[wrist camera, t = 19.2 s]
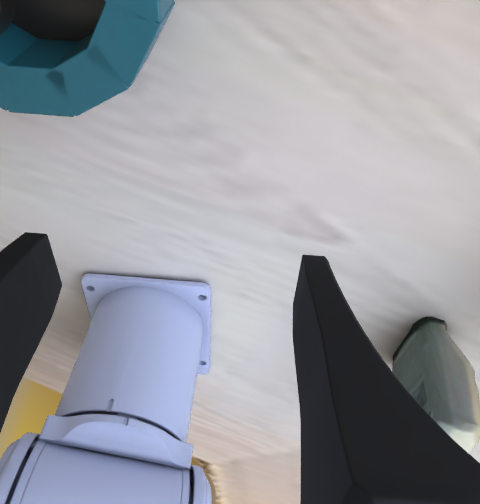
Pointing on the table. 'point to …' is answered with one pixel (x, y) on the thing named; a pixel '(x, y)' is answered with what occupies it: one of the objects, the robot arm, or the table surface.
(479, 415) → the grey-green upright box
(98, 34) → the ring
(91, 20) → the dark grey round knob
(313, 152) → the table surface
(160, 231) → the table surface
